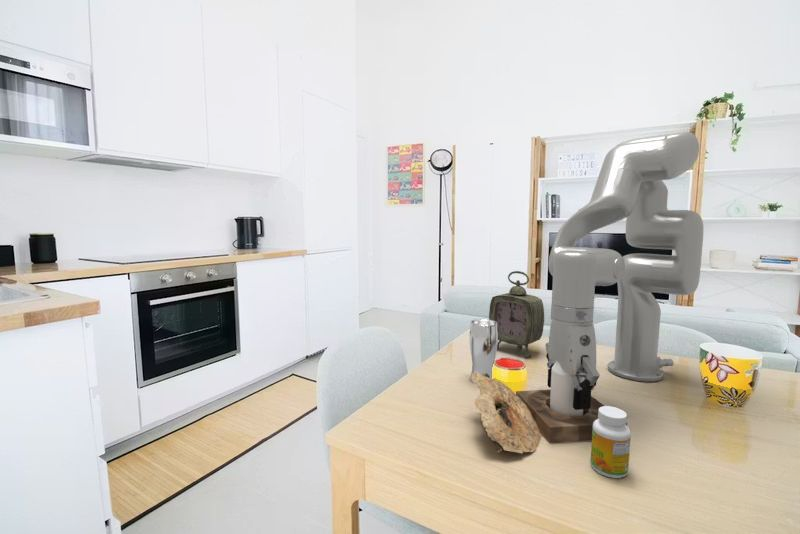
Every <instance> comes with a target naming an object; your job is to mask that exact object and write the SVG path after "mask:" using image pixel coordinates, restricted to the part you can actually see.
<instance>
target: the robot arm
mask: <svg viewBox="0 0 800 534" xmlns="http://www.w3.org/2000/svg"><path fill="white" fill-rule="evenodd" d="M699 153H700V144H699V140H698V138H697V136H696V135H695V134H694V133H692V132H690V131H681V132H673V133H666V134H660V135H659V134H658V135H653V136H645V137H639V138H634V139H633V138H632V139H629V140H625V141H623V142H620V143H618V144H616V145H615V146H614V147H613V148H612V149H610V150H609V151H608V152H607V154H606V155H605V157H604V159H603V162H602V165H601V168H600V171H599V174H598V177H597V179H596V183H595V185H594V189H593V192H592V195H591V199H590V200H589V202H588V203H587V204H585V205H584V206H583V207H581V208H580V209H579V210H577V211H576V212H575V213H574V214H572V215H571V216H570V217H569V218H568V219H567V220H566V221H565V222H564V223H563V224H562V226H561V227H560V228H559V230H558V231H557V234H556V236H555V239H554V240H553V243H552V247H551V248H550V253H549V256H548V272H549V273H550V275H551V276H552V288H551V290H552V291H551V305H550V307H551V310H550V312H551V313H550V320H551V323H550V328H549V329H550V330H549V336H548V342H547V343H545V350H546V355H545V356H546V359H547V363H546V366H547V387H548V388H550V389H551V372H552V367H553V365H554V364H555V363H556V361H557V362H558V363H559V364H560V366H561V368H562V370H563V371H565V372H566V373H568V374H569V375H571V376H573V379H574V382H575V385H576V388H574V395H573V408H574V409H575V410H582V409H590V406H591V396H592V391H594V389H595V387H596V386H597V383H598V380H599V378H600V373H599V371H598V370H597V340H596V339H597V338H596V330H595V329H596V328H595V325H594V323H593V322H594V311H595V310H594V309H595V308H594V306H595V289H596V287H597V286H598V287H600V286H601V287H608V286H609V287H610V286H613V285H615V284H616V283H617V293H618V294H617V296H618V297H617V299H618V300H617V314H616V315H617V316H616V326H615V327H616V329H615V331H616V332H615V343H614V344H615V346H614V360H611V361H609V362H608V363H607V366H606V367H607V370H608V371H609V372H610V373H611V374H613V375H616V376H617V377H620V378H625V379H628V380H631V381H632V380H633V381H637V382H638V381H639V382H658V381H661V380H662V379H663V378H664V372H663V371H662V370H661V368H663V367H673V366H674V360H673V359H672V358H663V359H662V358H661V356H658V350H659V337H660V327H661V316H662V315H661V314H662V313H661V312H662V311H661V307H660V303H659V302H658V300H657V299H656V298H655V296H654V295H653V294H652V293H658V294H666V295H675V296H689V295H692V294H693V293H695V292H696V291H697V289H698V287H699V283H700V276H701V266H702V253H703V244H704V243H703V241H704V222H703V218H702V216H701V215H700V214H699V213H698V212H696V211H694V210H689V209H668V196H669V191H668V189H669V188H668V187H667V185H666V183H665V182H664V181H666V180H667V181H668V180H673V179H676V178H678V177H679V176H681V175H683V174H685V173H686V172H688V171H689V170H690V169H692V167H693V166H694V165H695V163H696V162H697V160H698V157H699ZM624 219H625V240H626V243H627V244H628V245H629V246H631V247H633V248H638V249H653V250H672V251H674V252H675V254H676V255H673V254H671V255H668V254H658V253H655V254H654V253H640V252H639V253H637V252H636V253H629V254H626V255H625V254H624V255H622V254H621V253H619V252H618V251H616V250H614V249H610V248H601V247H600V248H599V247H586V246H585V247H583V246H576V245H577V244H578V243H579V242H580V241H581V240H582V238H584V237H585V236H587V235H588V234H590V233H592V232H594V231H596V230H598V229H602V228H605V227H607V226H610V225H612V224H614V223H618V222H620V221H623V220H624ZM582 370H583V372H577V371H582ZM579 377H584V378H585V380H584V381H583V382H581V381H580V378H579Z"/></svg>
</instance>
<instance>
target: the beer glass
mask: <svg viewBox="0 0 800 534" xmlns="http://www.w3.org/2000/svg"><path fill="white" fill-rule="evenodd" d="M497 324H498V323H497V322H496V321H493V320H489V318H488V319H487V318H478V319H477V318H476V319H472V320H470V327H469V350H470V356H471V363H472V365H471V366H472V368H471V373H470V381H471V382H472V383H474V382H473V381H472V380H473V379H472V375H473V374H472V373H474V372H477V373H479V374H481V375H483V376H485V377H488V378H492V367H493V364H494V365H495V360H496V357H497V353H498V352H497V350H498V349H497V346H498V342H499V340H498V325H497Z"/></svg>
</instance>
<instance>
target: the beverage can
mask: <svg viewBox="0 0 800 534" xmlns="http://www.w3.org/2000/svg"><path fill="white" fill-rule="evenodd" d="M577 372H583V370H582V371H577ZM579 378H580V381H581V382H583V381H584V380H585V378H584V377H579ZM574 388H576V385H575V382H574V379H573V376H571V375H569V374H568V373H566V372H565V371H563V370H562V368H561V366H560V364H559V363H558V362H557V361H556V363H555V364H554V365H553V367H552V372H551V388H550V389H551V393H550V409H551V410H554V411H556V412H558V413H561V414H566V415H571V416H578V415H583V409H582V410H575V409H574V408H573V395H574Z"/></svg>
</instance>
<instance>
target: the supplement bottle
mask: <svg viewBox="0 0 800 534" xmlns="http://www.w3.org/2000/svg"><path fill="white" fill-rule="evenodd" d="M627 415H628V414H627V412H625V411H624V410H623V409H620V408H618V407H615V406H611V405H604V406H602V407H600V408H599V411H598V418H599V419H597V420H595V421H594V423H593V429H592V440H591V448H590V466H591V467H592V468H593V469H594V470H595V472H597V473H598V474H600V475H603V476H604V477H607V478H610V477H611V478H610V479H622V477H623V478H625V477H626V476H627V475H628V473H629V466H630V464H629V463H630V454H631V453H630V450H631V439H632V438H631V436H632V435H631V434H632V433H631V430H630V428H629V426H628V425H627V426H626V423H627V424H628V422H627V421H628V420H627V419H628V416H627Z"/></svg>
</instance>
